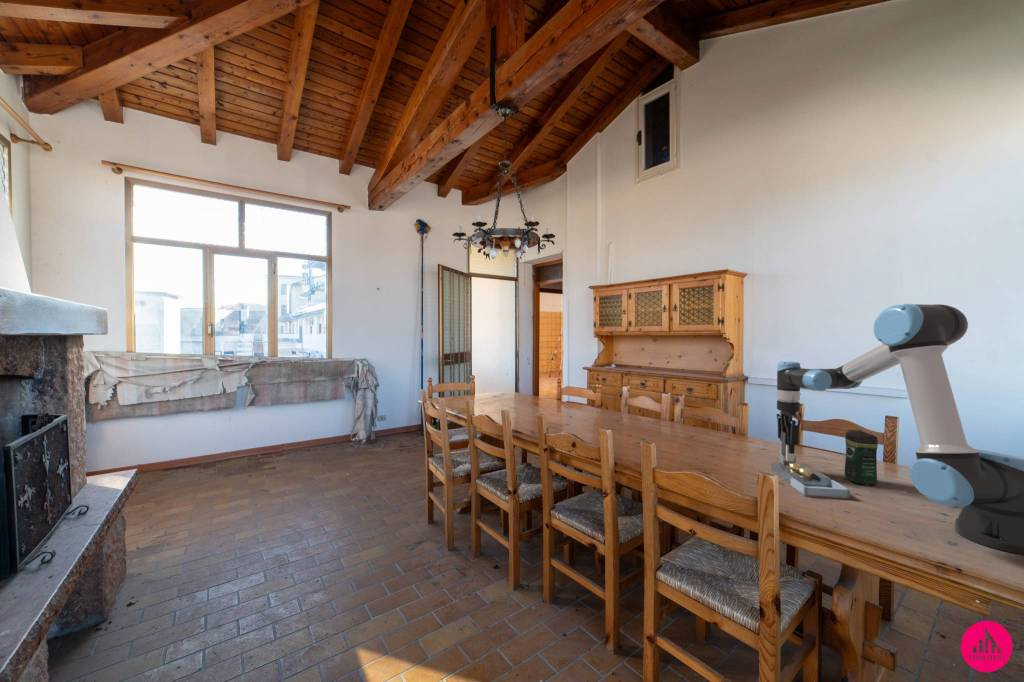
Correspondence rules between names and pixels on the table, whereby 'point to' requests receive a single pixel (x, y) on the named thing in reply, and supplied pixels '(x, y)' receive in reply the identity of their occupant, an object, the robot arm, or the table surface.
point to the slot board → (787, 474)
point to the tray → (822, 490)
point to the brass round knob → (795, 467)
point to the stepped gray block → (784, 450)
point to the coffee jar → (861, 457)
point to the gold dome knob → (805, 472)
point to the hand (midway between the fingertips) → (787, 459)
